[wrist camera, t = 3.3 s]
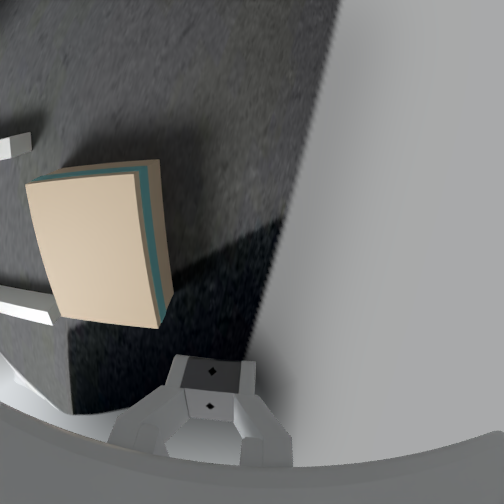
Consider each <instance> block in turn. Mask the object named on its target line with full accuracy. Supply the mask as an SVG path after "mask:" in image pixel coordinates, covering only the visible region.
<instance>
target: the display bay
mask: <svg viewBox="0 0 504 504" xmlns="http://www.w3.org/2000/svg"><path fill="white" fill-rule="evenodd" d="M30 151H32V145H31V132H27V133H23V134H18V135H14V136H10V137H6V138H2V139H0V160H3V159H9V158H13V157H15V156H18V155H21V154H24V153H27V152H30ZM0 313H4V314H7V315H11V316H15V317H19V318H23V319H27V320H31V321H35V322H39V323H43V324H48V325H52V326H53V325H54V324H55V322H56V321H57V320H58V318H59V317H60V316H61V314H60V311H59V308H58V306H57V303H56V300H55V297H54V295H53V294H46V293H41V292H35V291H29V290H24V289H18V288H13V287H8V286H2V285H0Z"/></svg>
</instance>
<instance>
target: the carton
mask: <svg viewBox="0 0 504 504" xmlns="http://www.w3.org/2000/svg"><path fill="white" fill-rule="evenodd" d="M25 186H26V191H27V197H28V202H29V207H30V212H31V217H32V221H33V225H34V230H35V234H36V238H37V242H38V245H39V249H40V253H41V256H42V260H43V263H44V267H45V270H46V273H47V276H48V279H49V282H50V285H51V288H52V291H53V294H54V297H55V300H56V303H57V306H58V308H59V311H60V314H61V316H62V317H68V318H74V319H81V320H88V321H95V322H103V323H110V324H119V325H127V326H136V327H146V328H156V329H158V328H159V326H160V323H162V321H163V319H164V316H165V314H166V309H167V307H168V305H169V302H170V300H171V298H172V295H173V293H174V291H173V284H172V277H171V270H170V262H169V254H168V246H167V238H166V229H165V219H164V209H163V198H162V187H161V174H160V159H154V160H138V161H125V162H113V163H103V164H93V165H84V166H75V167H67V168H61V169H58V170H56V171H54V172H51V173H49V174H47V175H45V176H40V177H38V178H36V179H34V180H32V181H31V182H30V183H28V184H26V185H25Z"/></svg>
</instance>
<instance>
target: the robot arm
mask: <svg viewBox="0 0 504 504" xmlns="http://www.w3.org/2000/svg"><path fill="white" fill-rule="evenodd" d="M255 371H256V362H254V361H237V360H222V359H209V358H200V357H193V356H183V355H176V356H175V357H174V360H173V363H172V366H171V369H170V372H169V375H168V378H167V381H166V384H165V386H162V385H161V386H160V387H158V388H157V389H156V390H154V391H153V392H152V393H150V394H149V395H147V396H146V397H145V398H143V399H142V400H140V401H139V402H138V403H136V404H135V405H133V406H132V407H131V408H129V409H128V410H126V411H125V412H124V413H122V414H121V415H119V416H118V417H117V419H116V422H115V424H114V426H113V429H112V432H111V434H110V437H109V439H108V442H107V443H105V442H102V441H98V440H95V439H92V438H88V437H85V436H82V435H79V434H76V433H73V432H70V431H67V430H65V429H62V428H59V427H57V426H54V425H52V424H49V423H47V422H44V421H42V420H39V419H37V418H34V417H32V416H30V415H28V414H25V413H23V412H21V411H19V410H16V409H14V408H12V407H10V406H8V405H6V404H4V403H2V402H0V504H504V433H503V432H502V431H493V432H490V433H487V434H484V435H482V436H479V437H475V438H472V439H469V440H466V441H463V442H460V443H456V444H452V445H449V446H445V447H442V448H438V449H434V450H430V451H426V452H421V453H417V454H412V455H406V456H402V457H396V458H390V459H384V460H377V461H370V462H363V463H354V464H344V465H332V466H315V467H293V458H292V457H293V456H292V437H291V436H290V435H289V434H288V432H287V431H286V430H285V429H284V427H283V426H282V425H281V424H280V423H279V421H278V420H277V419H276V417H275V416H274V415H273V414H272V412H271V411H270V410H269V408H268V407H267V406H266V405H265V403H264V402H263V401H262V399H261V398H260V397H259V396H258V395H254V393H255ZM189 418H200V419H212V420H218V421H228V422H234V424H235V426H236V428H237V429H238V431H239V433H240V434H241V436H242V438H243V439H242V445H241V457H240V466H236V465H224V464H213V463H204V462H197V461H190V460H183V459H176V458H171V457H169V454H168V452H167V449H166V446H165V444H164V443H165V442H166V441H167V440H168V439H170V437H172V435H174V434H175V433H176V432H177V431H178V430H179V429H180V428H181V426H183V425H184V424H185V423H186V421H188V419H189Z"/></svg>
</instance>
